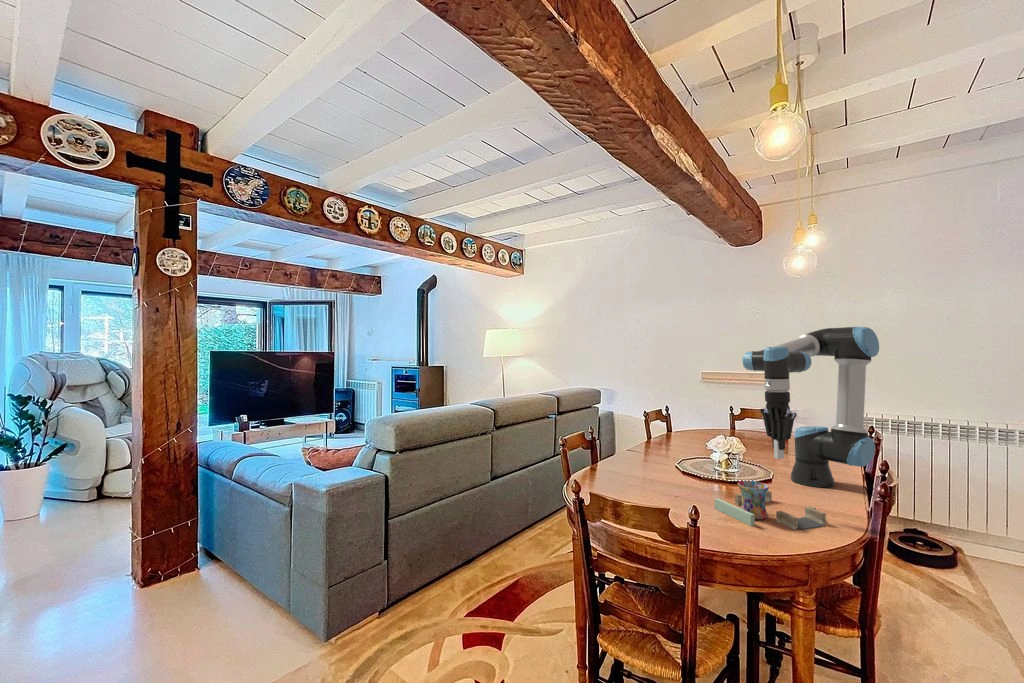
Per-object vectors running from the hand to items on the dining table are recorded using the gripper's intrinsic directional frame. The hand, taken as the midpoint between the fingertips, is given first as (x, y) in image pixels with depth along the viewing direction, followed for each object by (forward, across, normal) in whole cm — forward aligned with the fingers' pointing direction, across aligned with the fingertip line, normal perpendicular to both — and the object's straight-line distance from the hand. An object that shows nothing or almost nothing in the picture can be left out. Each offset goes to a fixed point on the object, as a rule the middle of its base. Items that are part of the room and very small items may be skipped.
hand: (779, 458), depth 154 cm
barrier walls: (+18, +2, -3) cm, 18 cm away
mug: (+18, +1, -12) cm, 22 cm away
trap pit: (+18, +12, -4) cm, 22 cm away
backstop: (+18, 0, -20) cm, 27 cm away
